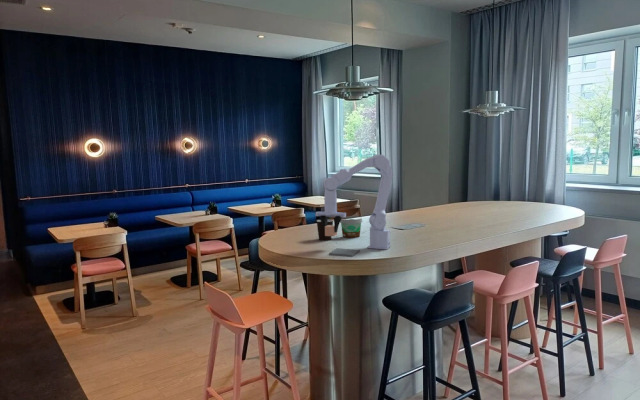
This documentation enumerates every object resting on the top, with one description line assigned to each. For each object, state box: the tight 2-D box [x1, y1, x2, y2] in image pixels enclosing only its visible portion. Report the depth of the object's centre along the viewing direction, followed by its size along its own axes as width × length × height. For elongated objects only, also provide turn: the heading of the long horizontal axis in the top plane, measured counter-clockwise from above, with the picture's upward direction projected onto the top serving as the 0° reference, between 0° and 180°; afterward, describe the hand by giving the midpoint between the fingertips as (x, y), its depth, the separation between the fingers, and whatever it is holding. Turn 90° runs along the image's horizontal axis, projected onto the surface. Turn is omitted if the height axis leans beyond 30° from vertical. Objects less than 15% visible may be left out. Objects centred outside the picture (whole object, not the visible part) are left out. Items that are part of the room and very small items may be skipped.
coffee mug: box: [316, 219, 334, 242], centre depth 245 cm, size 12×9×10 cm
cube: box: [325, 224, 338, 237], centre depth 221 cm, size 4×4×4 cm
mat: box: [328, 247, 361, 257], centre depth 212 cm, size 11×11×1 cm
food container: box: [339, 218, 363, 239], centre depth 250 cm, size 12×6×10 cm, turn 101°
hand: (330, 231), depth 221 cm, fingers closed on cube, 4 cm apart
